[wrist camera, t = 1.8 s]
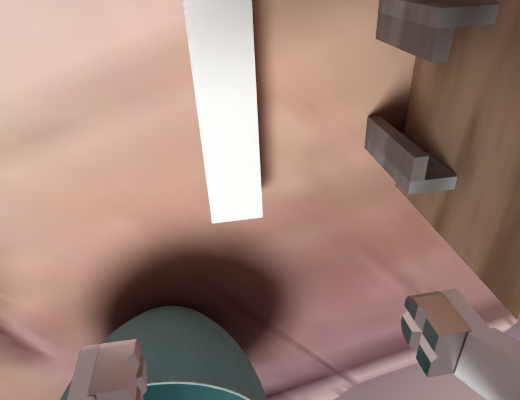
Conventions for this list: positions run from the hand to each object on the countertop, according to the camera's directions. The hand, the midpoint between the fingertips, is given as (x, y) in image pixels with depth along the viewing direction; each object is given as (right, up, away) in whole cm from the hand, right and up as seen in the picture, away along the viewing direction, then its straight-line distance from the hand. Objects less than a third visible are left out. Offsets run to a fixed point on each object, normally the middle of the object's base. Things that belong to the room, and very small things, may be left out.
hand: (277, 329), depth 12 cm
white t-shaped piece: (-3, +11, +18) cm, 22 cm away
